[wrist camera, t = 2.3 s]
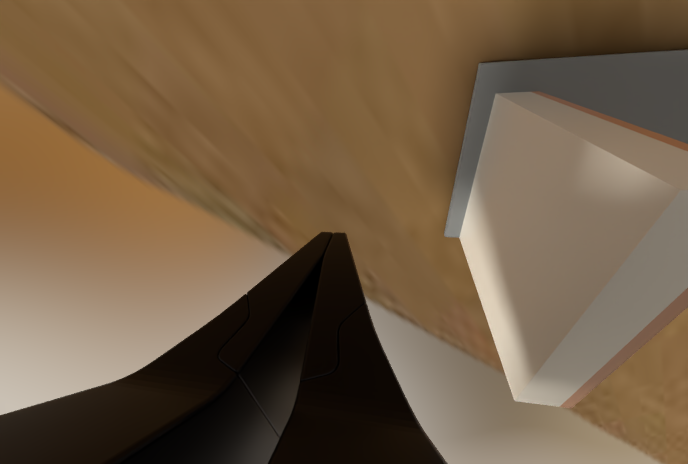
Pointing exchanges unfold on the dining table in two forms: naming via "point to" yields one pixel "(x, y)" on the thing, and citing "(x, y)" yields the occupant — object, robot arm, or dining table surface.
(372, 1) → the dining table surface
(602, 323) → the tile
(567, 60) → the mat
